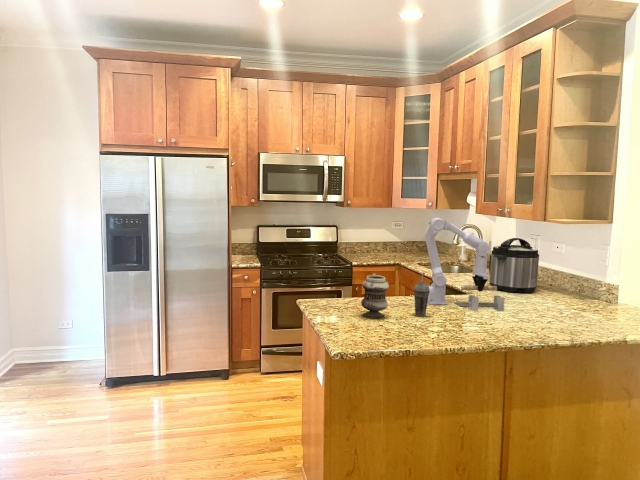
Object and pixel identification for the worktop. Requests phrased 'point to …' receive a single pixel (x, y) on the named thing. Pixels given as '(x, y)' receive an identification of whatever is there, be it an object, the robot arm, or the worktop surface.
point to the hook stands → (474, 302)
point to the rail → (468, 287)
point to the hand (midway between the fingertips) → (479, 290)
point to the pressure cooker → (514, 266)
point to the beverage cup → (421, 298)
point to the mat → (465, 304)
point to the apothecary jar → (375, 296)
